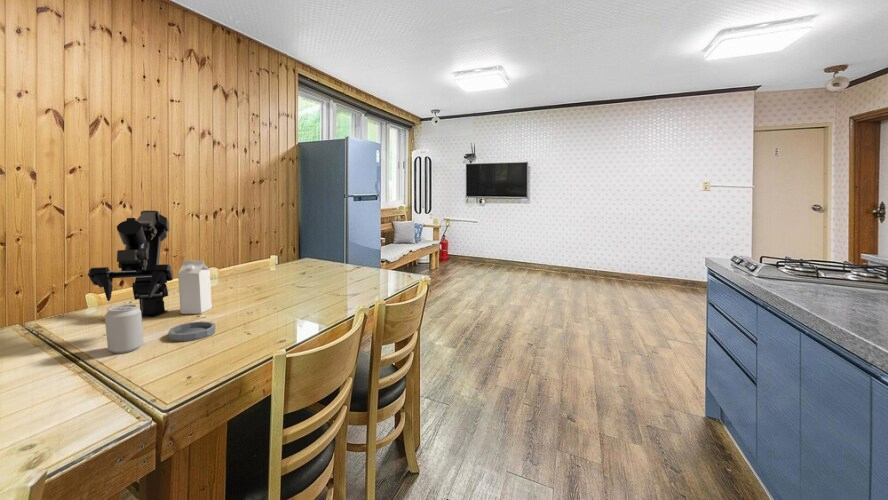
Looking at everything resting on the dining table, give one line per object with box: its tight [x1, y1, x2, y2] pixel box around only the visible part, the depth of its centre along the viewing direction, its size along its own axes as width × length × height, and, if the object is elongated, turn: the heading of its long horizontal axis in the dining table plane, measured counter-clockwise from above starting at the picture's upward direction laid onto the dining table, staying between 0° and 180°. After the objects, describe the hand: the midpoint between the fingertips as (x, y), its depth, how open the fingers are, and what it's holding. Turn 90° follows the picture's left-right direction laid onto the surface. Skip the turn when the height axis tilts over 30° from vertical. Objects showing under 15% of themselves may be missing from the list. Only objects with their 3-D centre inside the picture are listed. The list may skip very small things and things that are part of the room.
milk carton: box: [177, 259, 213, 315], centre depth 134 cm, size 7×7×19 cm
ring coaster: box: [168, 320, 216, 342], centre depth 113 cm, size 12×12×2 cm
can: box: [104, 304, 145, 354], centre depth 101 cm, size 8×8×12 cm
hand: (129, 298), depth 105 cm, fingers open, 9 cm apart
